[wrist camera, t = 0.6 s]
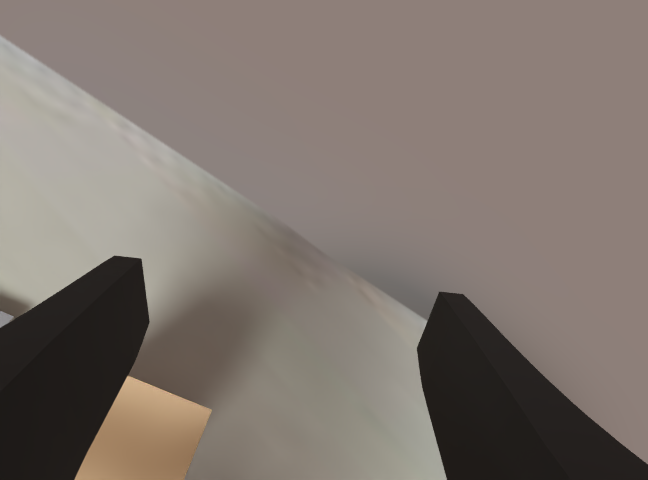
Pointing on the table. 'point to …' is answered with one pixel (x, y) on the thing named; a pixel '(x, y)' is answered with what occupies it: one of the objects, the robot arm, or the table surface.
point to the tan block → (145, 436)
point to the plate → (5, 318)
